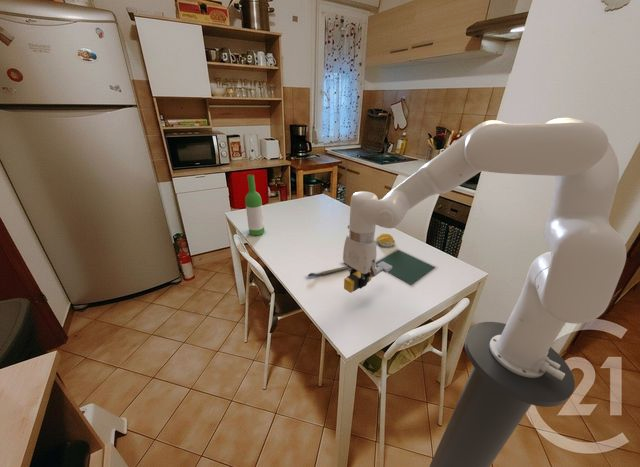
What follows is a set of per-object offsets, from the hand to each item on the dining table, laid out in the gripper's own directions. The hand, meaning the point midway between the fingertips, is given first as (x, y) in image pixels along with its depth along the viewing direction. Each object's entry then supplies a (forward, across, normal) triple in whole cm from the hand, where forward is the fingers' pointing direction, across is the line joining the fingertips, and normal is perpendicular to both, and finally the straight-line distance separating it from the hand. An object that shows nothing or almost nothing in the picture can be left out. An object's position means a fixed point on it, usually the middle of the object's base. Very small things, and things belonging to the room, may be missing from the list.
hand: (357, 283), depth 86 cm
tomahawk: (+9, -20, +7) cm, 23 cm away
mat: (+9, -3, +33) cm, 34 cm away
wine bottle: (+8, -69, 0) cm, 69 cm away
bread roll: (+9, -20, +43) cm, 48 cm away
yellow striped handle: (0, 0, +5) cm, 5 cm away
